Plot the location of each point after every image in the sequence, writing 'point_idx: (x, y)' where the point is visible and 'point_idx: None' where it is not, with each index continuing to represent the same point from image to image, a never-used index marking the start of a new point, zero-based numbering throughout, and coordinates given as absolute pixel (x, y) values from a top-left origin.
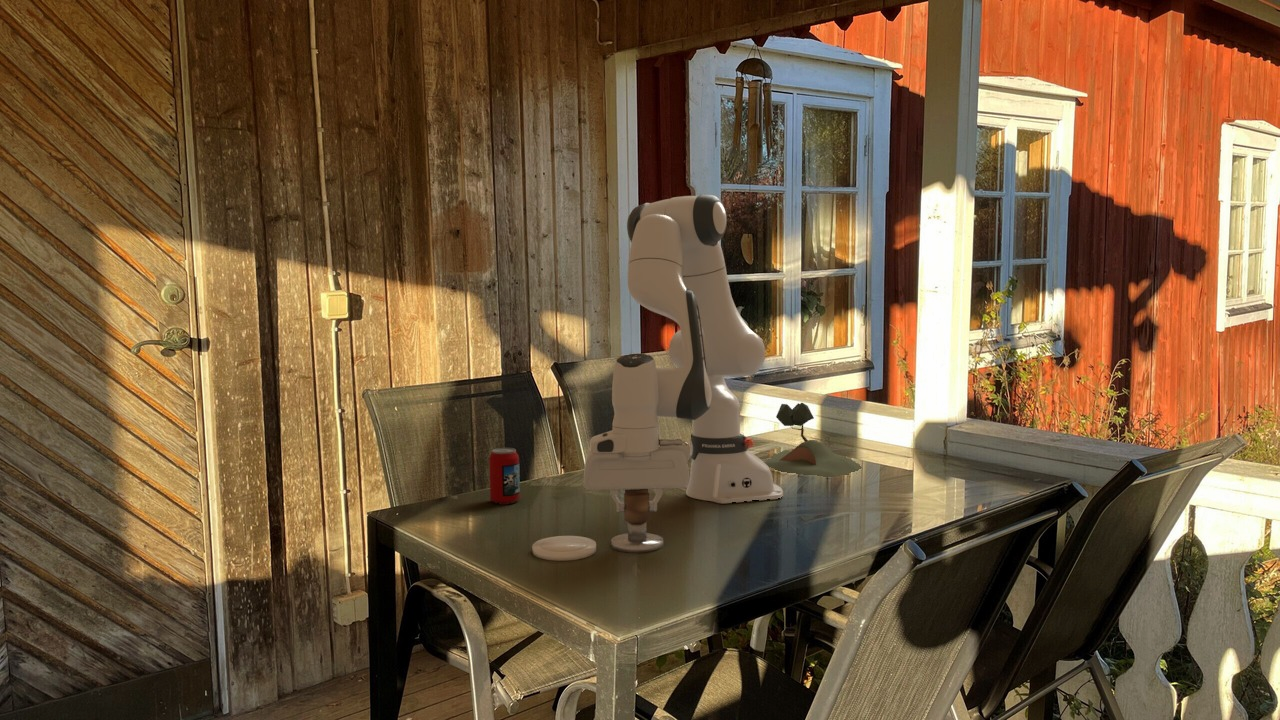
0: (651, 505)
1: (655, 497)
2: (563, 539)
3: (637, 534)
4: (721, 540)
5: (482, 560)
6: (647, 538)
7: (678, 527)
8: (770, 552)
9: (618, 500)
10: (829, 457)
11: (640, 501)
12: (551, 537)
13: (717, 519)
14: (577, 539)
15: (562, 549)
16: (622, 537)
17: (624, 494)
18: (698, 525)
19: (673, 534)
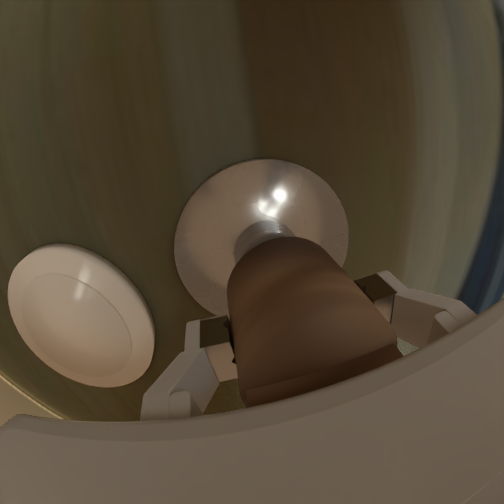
0: None
1: (413, 324)
2: (50, 300)
3: None
4: (460, 181)
5: (3, 367)
6: (299, 230)
7: (372, 42)
8: (493, 254)
9: (209, 391)
10: None
11: None
12: (15, 274)
13: (440, 5)
14: (81, 297)
15: (93, 370)
16: (208, 231)
17: (246, 402)
18: (416, 37)
19: (367, 115)
